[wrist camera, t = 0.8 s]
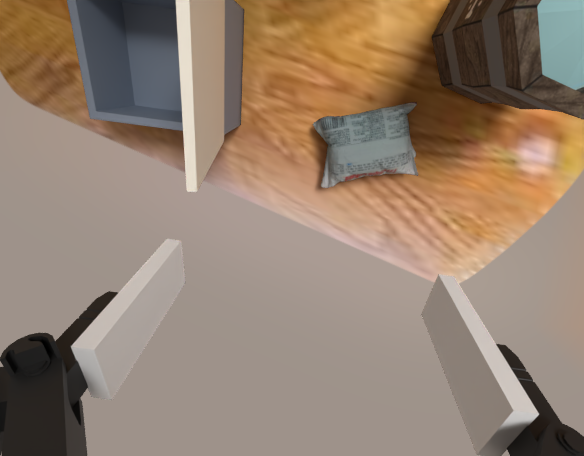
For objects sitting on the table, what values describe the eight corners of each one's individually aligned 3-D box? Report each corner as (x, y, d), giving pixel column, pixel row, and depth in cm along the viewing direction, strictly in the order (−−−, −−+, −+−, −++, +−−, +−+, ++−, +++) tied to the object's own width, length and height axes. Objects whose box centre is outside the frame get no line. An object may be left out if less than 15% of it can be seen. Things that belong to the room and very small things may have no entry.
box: (118, -6, 32) (61, -30, 25) (244, 9, 32) (222, -10, 25) (133, 110, 38) (90, 118, 31) (240, 124, 37) (222, 135, 30)
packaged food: (411, 170, 38) (423, 181, 34) (321, 183, 40) (321, 195, 36) (411, 98, 35) (424, 101, 30) (311, 116, 37) (310, 121, 32)
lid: (168, -113, 12) (184, -109, 12) (217, -18, 24) (224, -17, 24) (186, 191, 18) (196, 192, 18) (218, 140, 30) (224, 141, 30)
